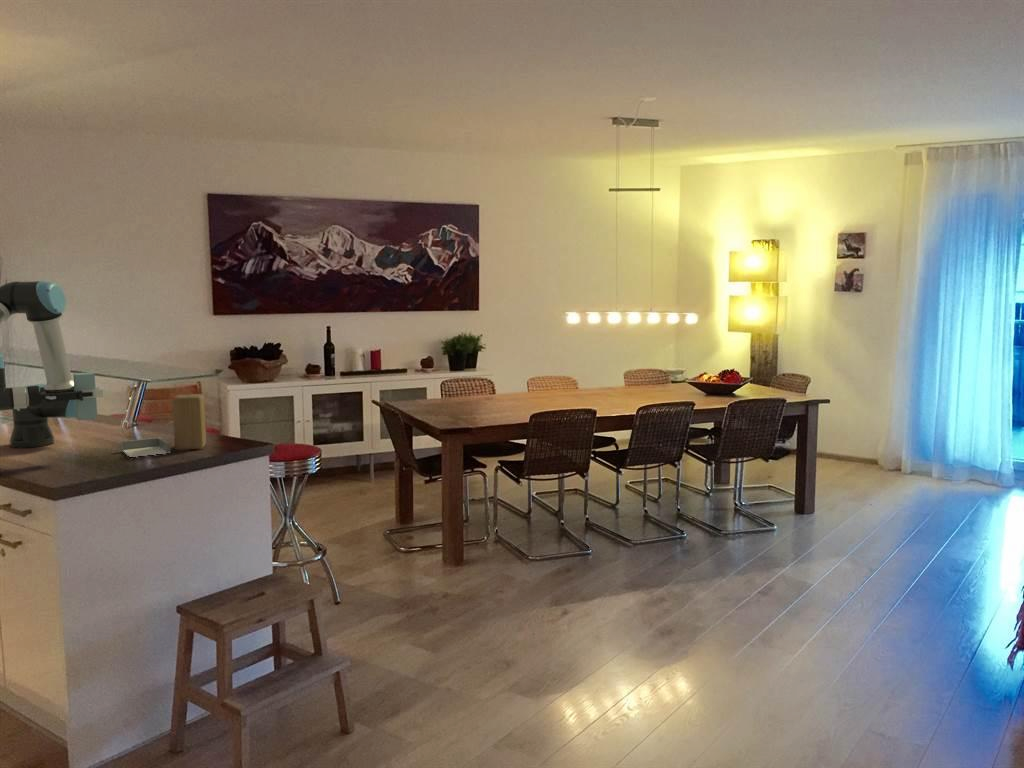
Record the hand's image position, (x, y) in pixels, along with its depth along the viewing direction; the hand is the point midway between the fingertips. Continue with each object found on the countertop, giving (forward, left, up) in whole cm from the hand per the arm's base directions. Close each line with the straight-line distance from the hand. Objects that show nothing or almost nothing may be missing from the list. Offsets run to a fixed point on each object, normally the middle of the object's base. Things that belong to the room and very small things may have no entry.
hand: (100, 391), depth 305 cm
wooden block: (0, +30, -24) cm, 38 cm away
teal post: (0, -5, -9) cm, 10 cm away
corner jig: (0, +14, -24) cm, 28 cm away
